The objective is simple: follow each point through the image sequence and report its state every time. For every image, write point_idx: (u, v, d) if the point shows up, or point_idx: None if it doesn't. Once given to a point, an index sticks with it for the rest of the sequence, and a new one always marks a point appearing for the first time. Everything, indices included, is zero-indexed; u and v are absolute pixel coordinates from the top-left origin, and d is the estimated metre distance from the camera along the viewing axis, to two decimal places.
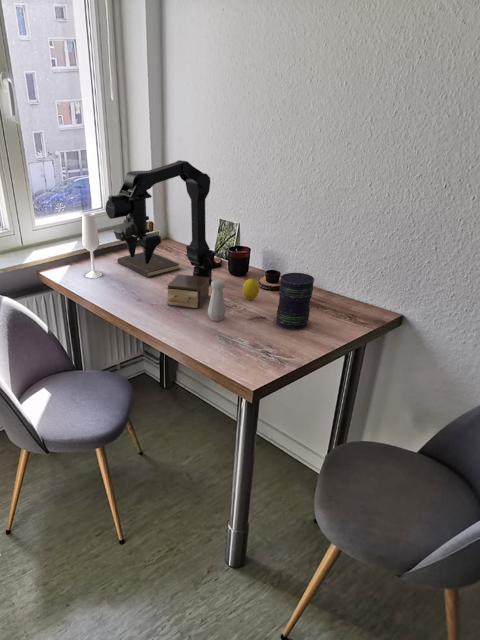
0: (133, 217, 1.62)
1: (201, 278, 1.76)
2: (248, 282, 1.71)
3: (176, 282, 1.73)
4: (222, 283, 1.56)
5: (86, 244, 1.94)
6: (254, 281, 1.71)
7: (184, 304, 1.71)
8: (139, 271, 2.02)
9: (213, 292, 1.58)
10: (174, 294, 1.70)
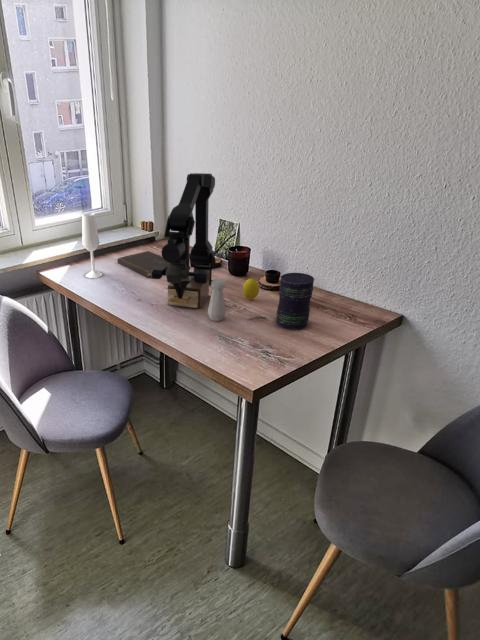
0: (182, 257, 1.57)
1: None
2: (248, 282, 1.71)
3: None
4: (222, 283, 1.56)
5: (86, 244, 1.94)
6: (254, 281, 1.71)
7: (184, 304, 1.71)
8: (139, 271, 2.02)
9: (213, 292, 1.58)
10: (174, 294, 1.70)
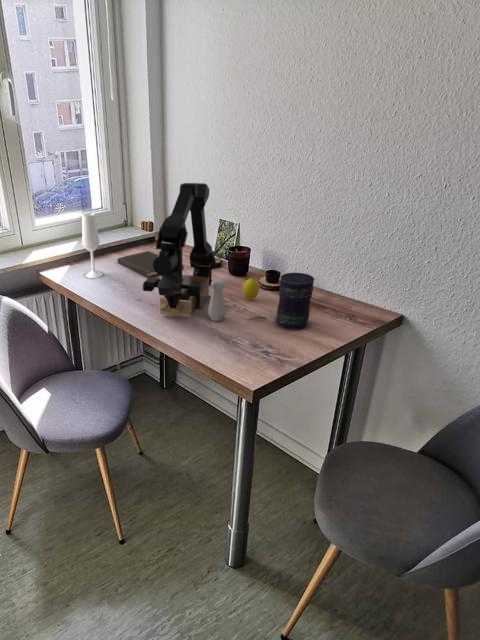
0: (175, 269, 1.52)
1: (201, 278, 1.76)
2: (248, 282, 1.71)
3: None
4: (222, 283, 1.56)
5: (86, 244, 1.94)
6: (254, 281, 1.71)
7: (177, 313, 1.64)
8: (139, 271, 2.02)
9: (213, 292, 1.58)
10: (166, 303, 1.64)
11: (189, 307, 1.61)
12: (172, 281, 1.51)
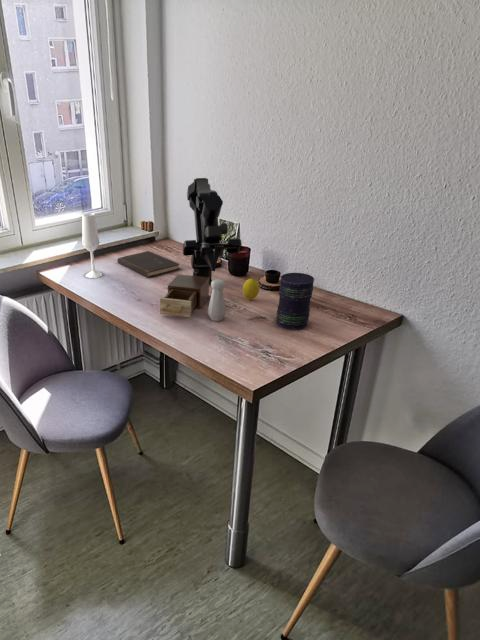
0: (215, 224, 1.64)
1: (201, 278, 1.76)
2: (248, 282, 1.71)
3: (176, 282, 1.73)
4: (222, 283, 1.56)
5: (86, 244, 1.94)
6: (254, 281, 1.71)
7: (177, 313, 1.64)
8: (139, 271, 2.02)
9: (213, 292, 1.58)
10: (166, 303, 1.64)
11: (189, 307, 1.61)
12: None
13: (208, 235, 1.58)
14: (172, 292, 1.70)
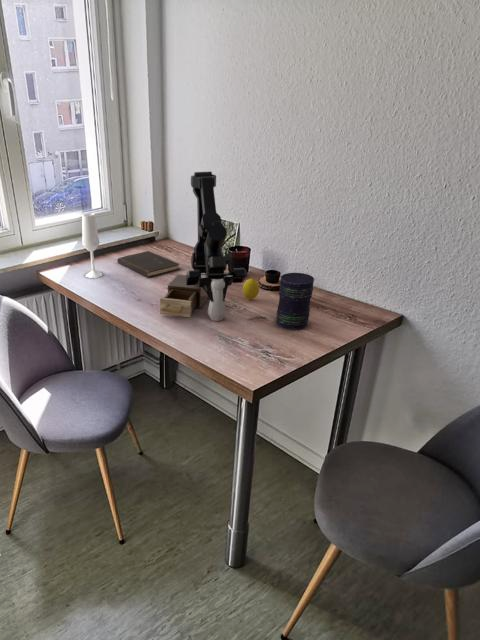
0: (219, 254, 1.60)
1: None
2: (248, 282, 1.71)
3: (176, 282, 1.73)
4: (222, 283, 1.56)
5: (86, 244, 1.94)
6: (254, 281, 1.71)
7: (177, 313, 1.64)
8: (139, 271, 2.02)
9: (213, 292, 1.58)
10: (166, 303, 1.64)
11: (189, 307, 1.61)
12: None
13: (212, 266, 1.54)
14: (172, 292, 1.70)
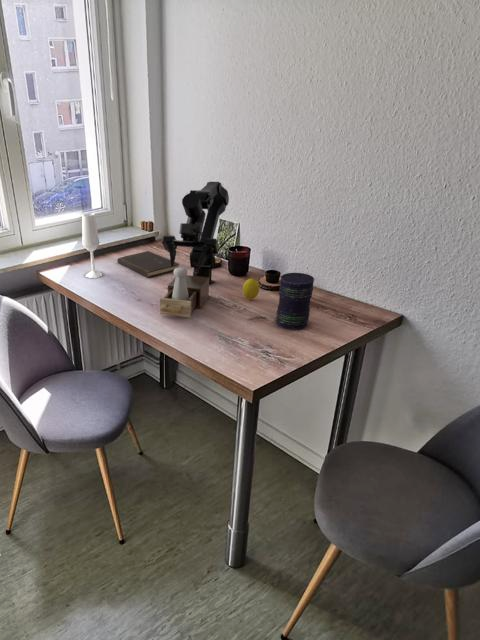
0: None
1: (201, 278, 1.76)
2: (248, 282, 1.71)
3: None
4: (182, 271, 1.61)
5: (86, 244, 1.94)
6: (254, 281, 1.71)
7: (177, 314, 1.64)
8: (139, 271, 2.02)
9: (175, 279, 1.64)
10: (166, 303, 1.63)
11: (189, 307, 1.61)
12: None
13: (180, 232, 1.62)
14: (172, 292, 1.70)
